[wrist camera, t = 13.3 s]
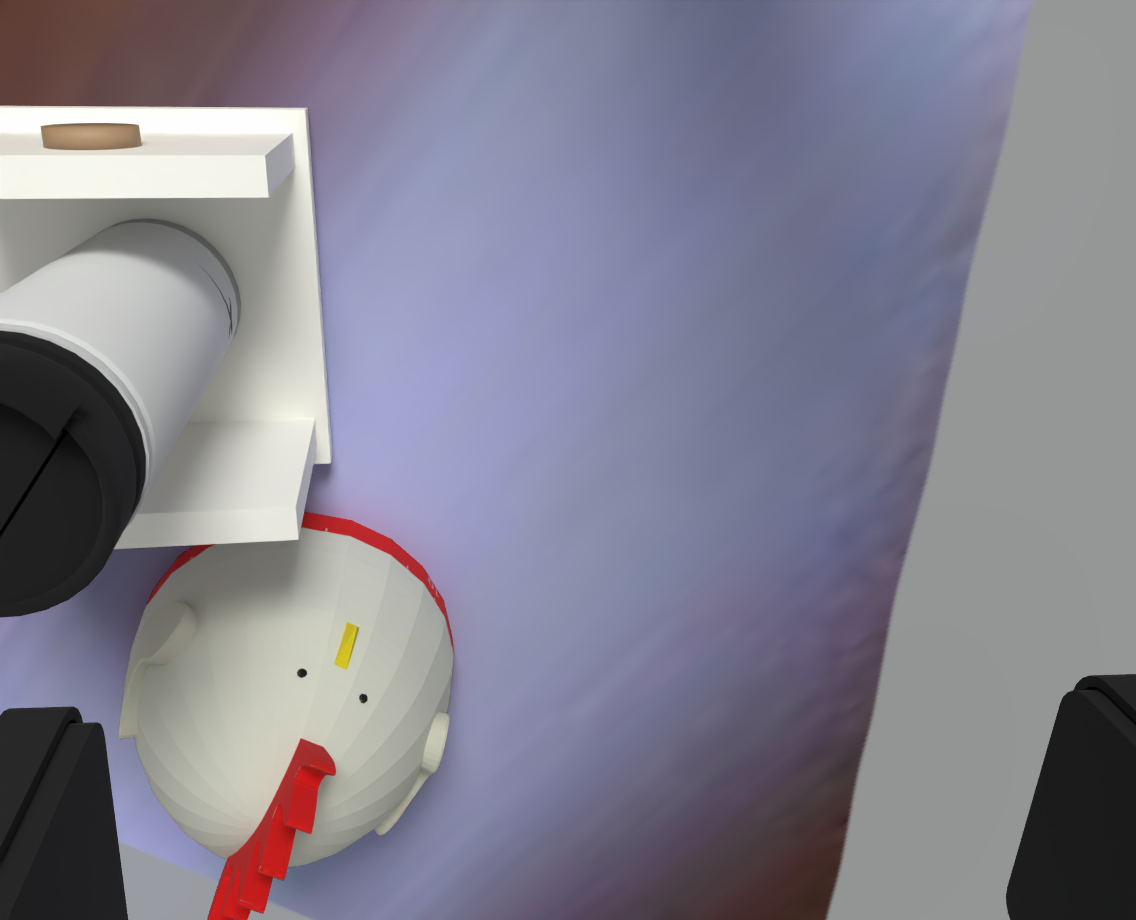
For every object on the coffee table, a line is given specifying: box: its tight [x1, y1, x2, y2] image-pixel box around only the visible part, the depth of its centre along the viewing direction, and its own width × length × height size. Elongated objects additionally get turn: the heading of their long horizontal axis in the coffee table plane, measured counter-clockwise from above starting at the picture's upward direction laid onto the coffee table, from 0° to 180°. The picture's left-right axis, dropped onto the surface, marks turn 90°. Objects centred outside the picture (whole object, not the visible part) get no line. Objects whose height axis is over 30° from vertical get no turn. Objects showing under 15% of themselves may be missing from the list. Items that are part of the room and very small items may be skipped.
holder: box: [0, 106, 332, 549], centre depth 37 cm, size 14×12×10 cm
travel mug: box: [0, 218, 241, 617], centre depth 31 cm, size 6×7×20 cm
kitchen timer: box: [118, 512, 454, 920], centre depth 41 cm, size 14×14×15 cm
